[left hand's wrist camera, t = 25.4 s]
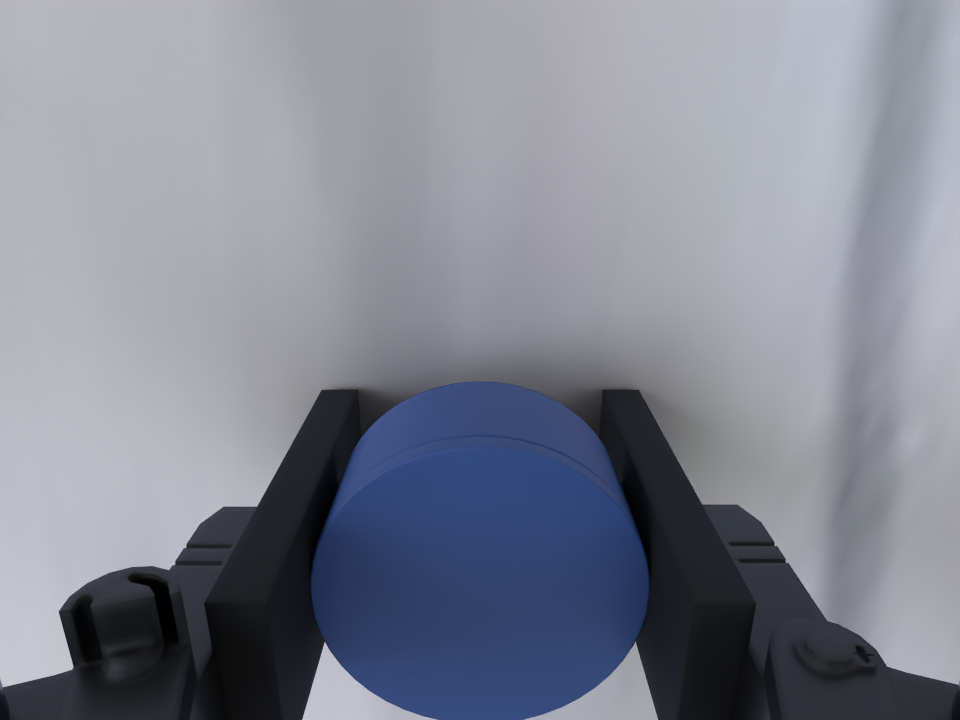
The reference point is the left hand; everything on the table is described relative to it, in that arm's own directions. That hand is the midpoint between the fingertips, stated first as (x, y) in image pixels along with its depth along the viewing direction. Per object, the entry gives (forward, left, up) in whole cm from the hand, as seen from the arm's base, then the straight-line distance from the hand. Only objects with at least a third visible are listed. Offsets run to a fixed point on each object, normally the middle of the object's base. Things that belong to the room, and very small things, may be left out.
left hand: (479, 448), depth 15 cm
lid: (0, 0, +4) cm, 4 cm away
